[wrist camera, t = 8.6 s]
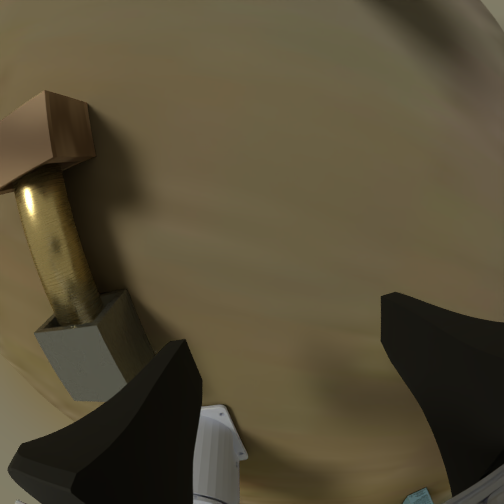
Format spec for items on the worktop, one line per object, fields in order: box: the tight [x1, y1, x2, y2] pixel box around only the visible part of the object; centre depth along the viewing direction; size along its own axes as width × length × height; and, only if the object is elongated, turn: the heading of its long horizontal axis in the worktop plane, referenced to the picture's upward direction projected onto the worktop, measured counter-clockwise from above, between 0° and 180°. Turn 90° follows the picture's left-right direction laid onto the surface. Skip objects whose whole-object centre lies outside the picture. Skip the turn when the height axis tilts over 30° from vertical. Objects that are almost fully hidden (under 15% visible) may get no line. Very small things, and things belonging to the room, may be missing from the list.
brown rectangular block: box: [0, 90, 96, 195], centre depth 13 cm, size 4×7×5 cm, turn 102°
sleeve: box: [34, 289, 155, 402], centre depth 18 cm, size 6×6×5 cm
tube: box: [12, 163, 105, 327], centre depth 15 cm, size 13×4×4 cm, turn 12°
